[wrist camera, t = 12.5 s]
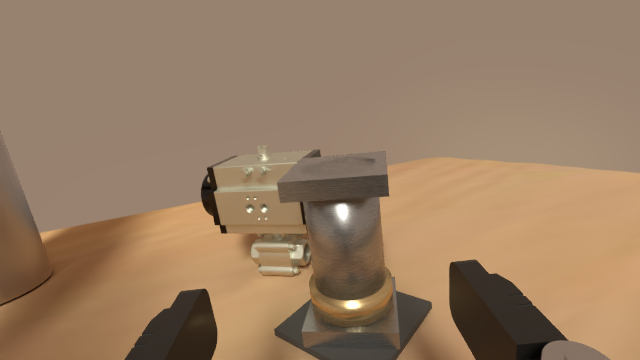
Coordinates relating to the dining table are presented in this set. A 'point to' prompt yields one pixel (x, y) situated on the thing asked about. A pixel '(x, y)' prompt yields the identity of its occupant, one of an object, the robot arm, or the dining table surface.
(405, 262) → the dining table surface
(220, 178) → the pneumatic valve
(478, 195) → the dining table surface
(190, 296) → the robot arm
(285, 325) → the pad
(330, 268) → the grey column pedestal
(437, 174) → the dining table surface
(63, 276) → the dining table surface
